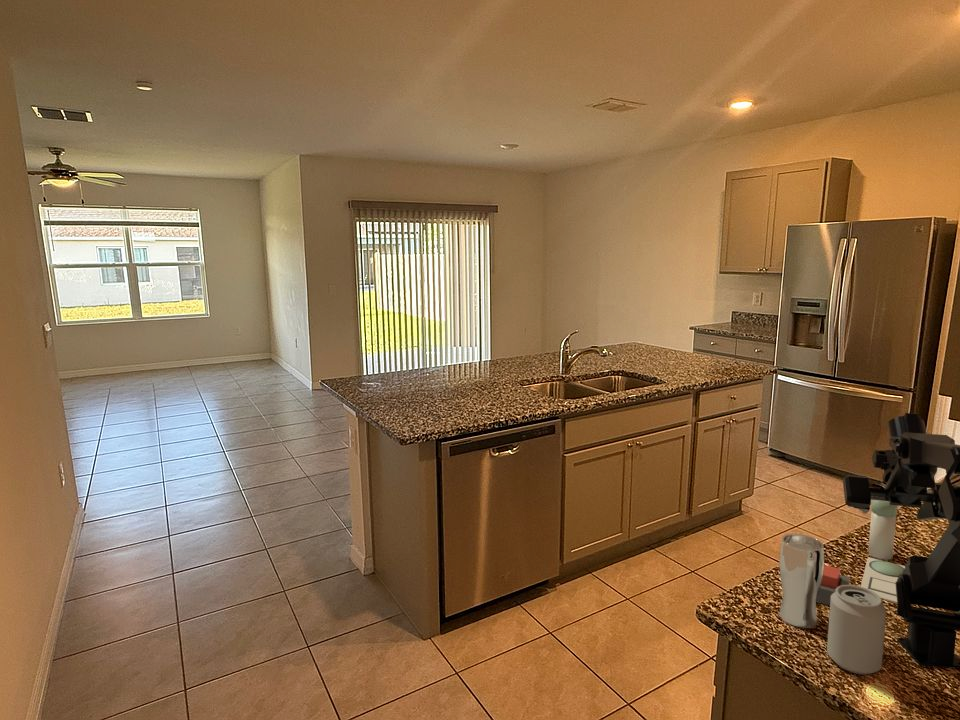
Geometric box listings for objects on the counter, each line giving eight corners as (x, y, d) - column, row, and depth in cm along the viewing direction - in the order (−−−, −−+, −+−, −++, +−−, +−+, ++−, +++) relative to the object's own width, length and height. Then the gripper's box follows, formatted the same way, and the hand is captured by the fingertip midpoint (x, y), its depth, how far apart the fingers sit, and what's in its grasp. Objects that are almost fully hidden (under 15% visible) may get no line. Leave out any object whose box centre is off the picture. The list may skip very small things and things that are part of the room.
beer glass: (797, 633, 100) (802, 553, 97) (768, 611, 106) (771, 536, 104) (829, 625, 102) (834, 547, 99) (798, 604, 108) (802, 530, 106)
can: (864, 647, 95) (869, 581, 94) (891, 679, 88) (898, 608, 86) (817, 646, 96) (822, 580, 94) (841, 677, 89) (846, 607, 87)
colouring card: (907, 606, 106) (907, 604, 106) (859, 593, 111) (859, 591, 111) (911, 568, 119) (911, 567, 119) (867, 558, 124) (867, 556, 124)
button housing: (844, 609, 106) (845, 595, 105) (798, 596, 111) (799, 582, 110) (849, 591, 112) (850, 577, 111) (805, 579, 116) (806, 565, 116)
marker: (891, 562, 122) (896, 505, 120) (865, 555, 125) (870, 499, 123) (894, 554, 125) (899, 498, 123) (869, 547, 128) (874, 493, 126)
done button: (836, 593, 108) (837, 578, 107) (809, 585, 111) (810, 571, 110) (839, 583, 111) (840, 568, 111) (813, 576, 114) (814, 562, 113)
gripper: (963, 444, 106) (939, 484, 117) (847, 436, 113) (834, 474, 124) (978, 498, 100) (950, 535, 111) (853, 486, 107) (839, 522, 118)
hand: (890, 514), depth 116 cm, fingers open, 9 cm apart
